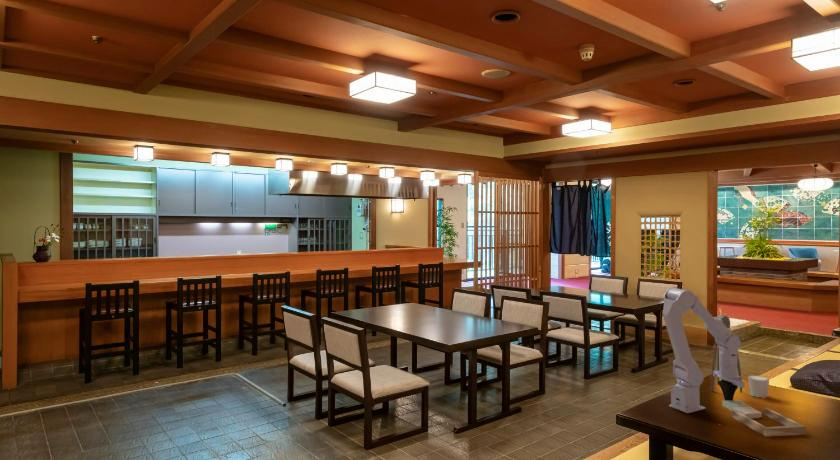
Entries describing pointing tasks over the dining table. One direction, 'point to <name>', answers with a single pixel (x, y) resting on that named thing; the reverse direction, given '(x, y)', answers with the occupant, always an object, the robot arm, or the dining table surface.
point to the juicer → (727, 324)
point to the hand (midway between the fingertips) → (728, 400)
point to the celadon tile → (733, 404)
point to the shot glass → (758, 386)
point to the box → (787, 429)
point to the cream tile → (748, 412)
